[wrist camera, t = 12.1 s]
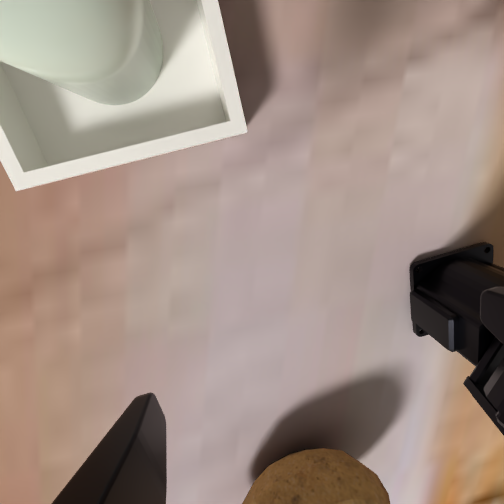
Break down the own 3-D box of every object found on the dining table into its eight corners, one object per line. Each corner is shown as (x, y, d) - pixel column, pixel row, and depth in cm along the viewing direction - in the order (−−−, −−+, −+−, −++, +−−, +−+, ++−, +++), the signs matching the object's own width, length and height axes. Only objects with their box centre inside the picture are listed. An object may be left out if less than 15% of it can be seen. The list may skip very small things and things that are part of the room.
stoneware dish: (180, -120, 14) (174, -192, 11) (240, 134, 18) (247, 132, 15) (-72, -71, 13) (-150, -134, 10) (48, 183, 17) (15, 190, 14)
